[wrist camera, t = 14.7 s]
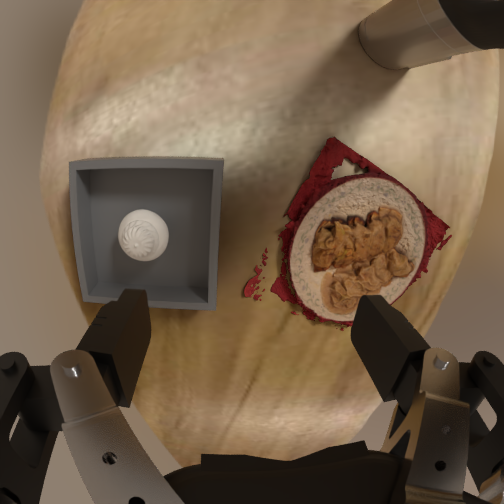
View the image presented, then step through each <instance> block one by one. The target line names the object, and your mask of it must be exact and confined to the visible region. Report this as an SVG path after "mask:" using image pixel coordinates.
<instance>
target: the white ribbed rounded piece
mask: <svg viewBox="0 0 504 504" xmlns="http://www.w3.org/2000/svg"><path fill="white" fill-rule="evenodd" d="M118 239H119V243H120V246H121V248H122V249H123V251H124V252H125V253H126V254H127V255H128V256H130V257H131V258H133V259H136V260H139V261H151V260H154V259H156V258H158V257H159V256H160V255H161V254H162V253H163V252H164V251H165V249H166V247H167V244H168V239H169V232H168V228H167V225H166V223H165V222H164V220H163V219H162V218H161V217H160V216H159V215H157V214H156V213H154V212H152V211H149V210H144V209H140V210H135V211H133V212H131V213H129V214H128V215H126V216H125V217H124V219H123V220H122V222H121V224H120V226H119V231H118Z"/></svg>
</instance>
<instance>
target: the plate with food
mask: <svg viewBox="0 0 504 504" xmlns="http://www.w3.org/2000/svg"><path fill="white" fill-rule="evenodd" d="M344 158H347V159H349V160H350V161H351V162H352V163H358V164H359V167H360V168H361V169H364V168H365V167H368V173H363V174H359V175H357V174H356V175H350V176H345V177H341V178H337V179H333V180H331V178H332V177H331V176H332V173H333V172H334V169H331V168H332V167H336V166H337V165H340V166H342V162H343V159H344ZM309 174H310V178H309V179H307V180H306V181H305V182H304V183H303V184H302V186H301V188H300V189H299V191H298V193H297V194H296V196H295V198H294V200H293V202H292V203H291V206H290V208H289V210H288V212H287V213H286V214H288V215H289V218H290V219H291V220H292V221H290V222H289V223H288V224H286V225H285V227H286V228H288V229H285V230H284V231H282V232H281V233H280V234H279V237H282V240H283V246H282V248H281V251H282V252H284V253H285V255H284V258H283V259H282V261H284V259H288V262H287V265H288V269H287V270H288V271H289V272H290V274H291V275H290V281H291V282H292V283H291V286H292V288H293V289H294V290H295V297H296V298H295V297H294V295H293V294H291V290H290V289H289V288H288V287H289V284H288V281H287V279H285V278H286V277H285V276H287V275H286V274H287V270H286V263H285V262H283V263H282V267H281V272H282V274H280V277H278V278H277V279H276V281H275V283H274V284H273V285H272V287H271V292H273V293H275V294H277V295H278V296H279V297H280V298H281V300H282V301H283V302H285V300H288V301H290V302H291V303H293V304H296V303H298V305H300V306H301V307H302V308H303V310H304V309H306V311H305V310H304V311H303V310H302V311H303V314H304V315H306V316H307V317H308V318H307V319H310V320H313V319H315V316H317V317H319V319H320V320H319V321H320V322H325V321H331V320H332V321H333V322H335V323H340V322H342V323H341V325H342V324H344V325H347V327H349V326H352V324H353V321H354V317H355V314H356V310H357V307H358V303H359V300H360V298H361V296H363V295H382V296H383V297H384V299H385V300H386V301H387V302H388V303H389V304H390V305H391V304H393V303H394V302H395V301H396V300H397V299H398V298H400V297H401V296H402V295H403V294H404V292H405V291H406V290H407V289H408V287H409V286H410V285H412V283H413V282H416V281H417V280H416V278H421V274H420V273H421V271H423V272H425V273H427V272H428V270H427V268H426V267H427V265H428V262H429V260H430V259H429V257H431V254H432V253H433V250H434V249H435V248H436V246H437V244H438V243H439V242H441V244H440V246H439V247H438V248H437V249H438V250H441V249H442V247H443V246H444V245H445V244H446V243H447V241H448V240H449V239H450V238H451V237H452V235H450V236H449V237H448V238H447V239H446V240H443V238H444V235H446V230H447V229H448V228H450V227H449V226H448V225H447V224H446V223H444V222H443V221H442V220H441V219H439V218H438V217H437V216H435V215H434V214H433V213H432V211H431V210H430V209H428V208H427V207H426V206H425V205H424V204H423V202H421V201H419V200H418V199H417V198H416V196H415V195H414V194H413V193H412V192H411V191H410V190H409V189H408V188H406V187H405V186H404V185H403V184H402V183H400V182H399V181H397V180H396V179H395V178H393V177H392V176H389V175H388V174H387V173H385V172H384V171H382V170H381V169H380V168H379V167H377V166H376V165H374V164H373V163H372V162H370V161H369V160H368V159H366V158H364V157H363V156H361V155H359V154H358V153H356V152H355V151H354V150H352V149H351V148H349V147H348V146H346V145H345V144H343V143H342V142H340V141H339V140H338V139H336V138H335V137H333V138H329V139H328V140H327V141H326V145H325V146H324V148H323V149H322V151H321V154H320V156H319V157H318V159H317V160H316V161H315V163H314V165H313V167H312V168H311V171H310V173H309ZM286 214H285V215H286ZM285 215H284V216H285ZM278 240H280V239H279V238H278ZM442 240H443V241H442ZM284 248H285V249H287V250H285V249H284ZM437 249H436V250H437ZM284 250H285V251H284ZM265 253H267V247H266V249H265ZM263 256H264V257H266V255H265V254H264V253H263ZM267 258H268V257H266V258H262V259H263V261H262V263H263V264H264V266H266V262H265V261H264V260H266V259H267ZM260 259H261V258H260ZM260 266H261V265H260ZM255 270H256V272H257V274H258V275H257V276H255V277H254V278H252V279H250V280H249V282H248V283H247V285H246V287H245V290H244V293H245V297H251V295H252V294H253V293H254V291H255V290H258V289H259V286H258V287H257V288H256V289H254V287H255V286H256V285H255V284H256V283H257V284H258V283H259V282H260V281H261V280H258V279H257V278H258V276H259V275H260V273H261V272H262V269H259V268H258V267H257V266H256V268H255ZM282 275H284V276H282ZM264 278H265V277H263V279H264ZM252 284H253V287H251V285H252ZM285 285H286V286H287V287H286V286H285ZM264 290H265V289H264ZM264 290H263V291H264ZM289 290H290V291H289ZM263 291H262V292H263ZM260 296H262V295H256V294H255V295H254V297H253V298H254V299H255V300H258V298H259V297H260ZM260 301H261V299H260ZM310 312H312V313H310ZM291 313H293V314H295V315H298V314H296V312H291ZM314 321H315V320H314ZM351 322H352V323H351ZM336 329H338V328H336ZM343 329H344V328H341V330H342V331H343Z"/></svg>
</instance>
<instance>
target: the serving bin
mask: <svg viewBox="0 0 504 504" xmlns="http://www.w3.org/2000/svg"><path fill="white" fill-rule="evenodd" d="M223 166H224V159H223V158H205V157H162V156H152V157H109V158H90V159H82V160H77V161H71V162H69V187H70V207H71V221H72V231H73V241H74V249H75V256H76V263H77V270H78V276H79V281H80V287H81V292H82V297H83V302H93V303H103V304H107V303H109V302H110V301H117V300H118V298H119V297H120V295H121V294H122V292H123V290H124V289H125V288H130V289H144V290H146V293H147V299H148V307H153V308H170V309H190V310H216V296H217V270H218V248H219V228H220V211H221V195H222V180H223ZM140 209H144V210H149V211H152V212H154V213H156V214H157V215H159V216H160V217H161V218H162V219H163V220H164V222H165V223H166V225H167V228H168V232H169V239H168V244H167V247H166V249H165V251H164V252H163V253H162V254H161V255H160V256H159V257H158V258H156V259H154V260H151V261H139V260H136V259H133V258H131V257H130V256H128V255H127V254H126V253H125V252H124V251H123V249H122V248H121V246H120V243H119V239H118V231H119V226H120V224H121V222H122V220H123V219H124V217H125V216H126V215H128V214H129V213H131V212H133V211H135V210H140Z"/></svg>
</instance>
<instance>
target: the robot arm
mask: <svg viewBox="0 0 504 504" xmlns="http://www.w3.org/2000/svg"><path fill="white" fill-rule="evenodd" d="M359 38H360V42H361V44H362V46H363V48H364V50H365V51H366V53H367V54H368V55H369V56H370V57H371V58H372V59H373V60H374V61H375V62H376V63H378V64H379V65H381V66H383V67H385V68H388V69H393V70H397V69H402V68H405V67H407V68H410V69H411V68H415V67H419V66H423V65H427V64H431V63H435V62H440V61H444V60H449V59H451V57H452V56H454V55H459V54H464V53H469V52H474V51H480V50H487V49H496V48H500V49H504V0H392V1H390V2H389V3H387V4H386V5H384V6H383V7H381V8H380V9H378V10H377V11H375V12H374V13H372V14H371V15H369V16H368V17H366V18H365V19H364V20H363V21H362V22H361V24H360V26H359ZM150 338H151V322H150V315H149V307H148V299H147V293H146V290H144V289H130V288H125V289H124V290H123V292H122V294H121V295H120V297H119V298H118V300H117V301H110V302H109V303H107V304H106V305H104V306H103V307H102V308H101V309H100V311H99V312H98V314H97V315H96V318H94V320H93V322H92V323H91V325H90V326H89V328H88V330H87V331H86V333H85V335H84V336H83V338H82V339H81V341H80V343H79V345H78V346H77V348H76V349H75V350H69V351H65V352H63V353H61V354H59V355H58V356H57V357H56V358H55V359H54V360H53V361H52V363H51V365H48V366H30V365H29V363H28V361H27V358H26V357H25V356H24V355H23V354H21V353H19V352H9V353H6V354H3V355H2V356H0V504H39V501H40V496H41V492H42V488H43V484H44V479H45V475H46V472H47V468H48V465H49V461H50V457H51V454H52V451H53V447H54V444H55V441H56V438H57V435H58V432H59V431H63V432H64V436H65V438H66V441H67V444H68V446H69V449H70V451H71V454H72V457H73V459H74V461H75V464H76V466H77V468H78V471H79V473H80V475H81V477H82V479H83V482H84V484H85V485H86V488H87V490H88V492H89V494H90V496H91V498H92V500H93V501H94V503H95V504H504V365H503V364H502V362H501V361H500V360H499V359H498V358H497V357H496V356H495V355H493V354H492V353H489V352H487V351H479V352H477V353H476V354H475V355H474V357H473V359H472V361H471V363H464V362H458V360H457V358H456V357H455V356H454V355H453V354H452V353H450V352H449V351H447V350H445V349H442V348H431V347H430V346H429V345H428V344H427V342H426V341H425V340H424V339H423V337H422V336H421V335H420V334H419V333H418V332H417V330H416V329H414V328H413V326H412V324H411V323H410V322H408V320H407V319H406V317H405V316H404V315H403V314H402V313H401V312H399V311H398V310H396V309H395V308H393V307H392V306H391V305H390V304H389V303H388V302H387V301H386V300H385V299H384V297H383V296H382V295H363V296H361V298H360V300H359V303H358V307H357V310H356V314H355V317H354V321H353V324H352V327H351V341H352V343H353V345H354V347H355V349H356V351H357V353H358V354H359V356H360V358H361V360H362V362H363V364H364V365H365V367H366V369H367V371H368V373H369V375H370V377H371V378H372V380H373V382H374V384H375V386H376V388H377V390H378V392H379V394H380V396H381V398H382V399H383V401H384V402H387V401H391V400H395V399H396V400H397V401H398V403H397V405H396V407H395V408H394V411H393V415H392V418H391V421H390V425H389V428H388V431H387V434H386V437H385V440H384V443H383V446H382V448H381V450H380V451H374V450H368V449H367V446H366V444H365V441H359V442H354V443H349V444H344V445H339V446H333V447H328V448H325V449H323V450H320V451H318V452H315V453H312V454H310V455H307V456H304V457H301V458H298V459H295V460H292V461H282V460H274V459H267V458H261V457H255V456H249V455H218V454H201V464H197V465H192V466H188V467H184V468H181V469H179V470H176V471H173V472H171V473H169V474H167V475H165V476H164V477H163V476H162V474H161V473H160V472H159V470H158V469H157V467H156V466H155V465H154V463H153V462H152V460H151V459H150V457H149V456H148V454H147V453H146V451H145V450H144V449H143V447H142V445H141V444H140V442H139V441H138V439H137V437H136V436H135V434H134V433H133V431H132V429H131V428H130V426H129V424H128V422H127V421H126V419H125V417H124V416H123V414H122V412H121V410H120V409H119V407H118V406H121V407H128V408H129V407H130V404H131V401H132V397H133V394H134V390H135V387H136V384H137V380H138V377H139V374H140V371H141V367H142V364H143V361H144V358H145V355H146V352H147V349H148V346H149V343H150ZM484 398H486V399H487V401H488V402H489V404H490V405H491V407H492V408H493V410H494V411H495V413H496V415H497V422H496V425H495V426H494V428H493V429H492V430H491V431H489V429H488V428H487V426H486V424H485V423H484V421H483V419H482V418H481V416H480V415H479V413H478V411H477V410H476V409H477V408H478V406H479V405H480V404H481V402H482V401H483V399H484ZM17 415H18V416H19V417H20V419H19V421H18V423H17V425H16V428H15V430H14V433H13V435H12V437H11V440H10V441H9V435H10V431H11V428H12V426H13V424H14V422H15V419H16V417H17ZM466 467H468V469H469V471H470V473H471V475H472V478H473V480H474V482H475V484H476V487H477V489H478V491H479V496H478V497H476V496H474V495H472V494H470V493H467V492H465V491H463V488H464V482H465V475H466Z"/></svg>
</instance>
